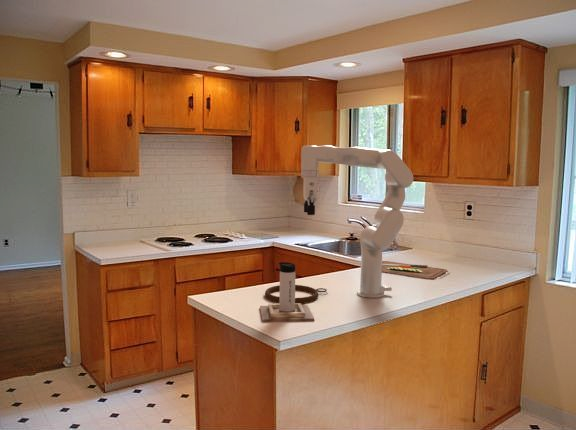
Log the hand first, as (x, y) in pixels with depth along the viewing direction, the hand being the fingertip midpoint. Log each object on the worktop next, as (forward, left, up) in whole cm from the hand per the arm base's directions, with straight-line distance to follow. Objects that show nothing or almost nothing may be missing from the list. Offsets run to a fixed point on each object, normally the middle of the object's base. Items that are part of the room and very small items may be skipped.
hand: (309, 213), depth 227 cm
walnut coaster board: (+12, +22, -38) cm, 46 cm away
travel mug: (+12, +22, -37) cm, 45 cm away
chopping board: (-64, -54, -39) cm, 92 cm away
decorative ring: (+4, -5, -39) cm, 39 cm away
